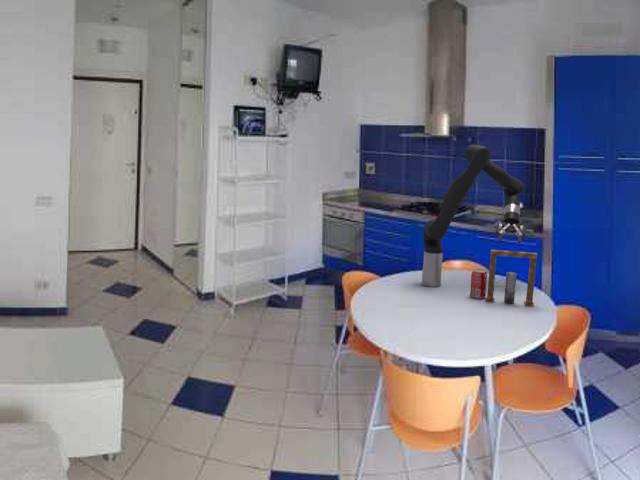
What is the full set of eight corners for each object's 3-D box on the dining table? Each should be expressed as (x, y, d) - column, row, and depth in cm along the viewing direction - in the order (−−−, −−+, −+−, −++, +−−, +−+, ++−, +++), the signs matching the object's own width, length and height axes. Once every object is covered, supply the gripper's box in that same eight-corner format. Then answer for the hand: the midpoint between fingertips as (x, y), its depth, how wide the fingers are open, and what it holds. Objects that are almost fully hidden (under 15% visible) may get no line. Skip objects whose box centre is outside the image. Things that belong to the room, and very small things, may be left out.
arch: (485, 301, 244) (489, 251, 239) (485, 298, 249) (489, 249, 244) (533, 306, 238) (539, 255, 233) (533, 303, 242) (538, 252, 238)
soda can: (486, 299, 247) (488, 273, 244) (470, 298, 248) (472, 272, 246) (484, 295, 254) (486, 269, 251) (469, 294, 255) (471, 268, 252)
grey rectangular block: (504, 303, 242) (506, 274, 239) (503, 300, 246) (506, 271, 243) (514, 304, 240) (517, 275, 238) (513, 301, 245) (516, 272, 242)
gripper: (497, 209, 265) (495, 236, 257) (527, 212, 261) (526, 239, 253) (496, 217, 271) (493, 244, 263) (525, 220, 267) (524, 247, 259)
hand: (509, 242), depth 258 cm, fingers open, 8 cm apart
